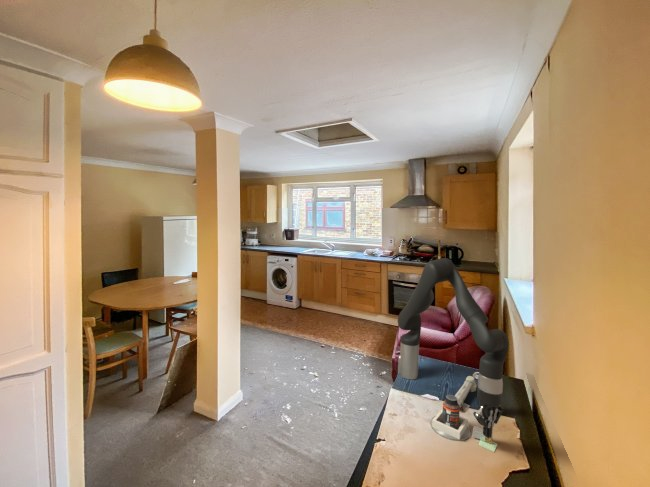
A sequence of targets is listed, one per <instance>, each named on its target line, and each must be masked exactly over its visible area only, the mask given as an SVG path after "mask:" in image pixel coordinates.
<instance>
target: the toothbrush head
mask: <svg viewBox="0 0 650 487" xmlns="http://www.w3.org/2000/svg"><path fill="white" fill-rule="evenodd" d="M477 388H478V383H477V382H476V380H475V378H474V377H473V376H471V375H468V376H467V377H466V378H465V380H464V381H463V384H462V385H461V387H460V388H459V389H458V391H457V392H456V393H455V395H454V396H455V397H456V398H457V403H458V404H459V406H460V408H462V407H463V406H464V405H463V403H464V402H465V400H466V398H467V396H468V394H469V393H473V392H477Z"/></svg>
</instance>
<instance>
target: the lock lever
mask: <svg viewBox="0 0 650 487" xmlns="http://www.w3.org/2000/svg"><path fill="white" fill-rule="evenodd" d="M493 428H494V426H493V427H492V434H493V431H494V429H493ZM472 437H473V438H476V439H478V440H479V441H480V440H483V441H485V442H488V443H491V444H492V442H493V436H492V437H490V438H487V437H486V436H484V435H483V427H482V428H481V427H479V426H476V425H473V428H472Z"/></svg>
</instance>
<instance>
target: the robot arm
mask: <svg viewBox="0 0 650 487" xmlns="http://www.w3.org/2000/svg"><path fill="white" fill-rule="evenodd" d="M446 281H447V282H448V283H450V284H451V287H452V288H453V289H454V294H455V303H456V304H455V305H456V308H457V311H458V312H459V314H460V315H461V317H462V318H463V319H464V320H465V322H466V324H467V325H468V327H469V330H470V332H471V335H472V337H473V340H474V342H475V344H476V345H477V347H478V348H479V349H480V350H482V351H483V352H485V354H483V355H482V356H481V357H480V359H479V369H478V377H477V388H476V393H477V395H476V397H477V400H478V402H479V404H478V410H477V411H473V413H472V415H473V417H474V418H475V419H476V421H477V423H478V424H480V425H481V427H482V429H483V435H484V436H486V437H487V438H490V437H492V438H493V433H492V427H493V428H494V427H495V425H497V424H498V422H499V420H500V418H501V416H502V415H503V412H504V408H503V407H502V406H501V405H502V404H503V394H504V393H503V390H504V389H503V388H504V381H503V376H504V375H503V372H504V364H505V361H506V358H507V355H508V351H509V347H510V344H509V342H510V341H509V338H508V335H507V334H506V333H505V332H504V331H503V330H501V329H499V328H493V329H489V328H488V327H487V323H488V321H489V318H488V316H487V314H486V313H485V312H484V311H483V309H482V307H480V304H478V303H477V302H476V300H475V298H474V296H472V293H471V292H470V290H469V288H468V286H467V285H466V283H465V281H464V278H463V277H462V276H461V274H460V272H459V270H458V269H457V267H456V265H455V264H454V262H453V261H452V260H451V259H449V258H448V257H447V258H446V257H444V258H438V259H434V260H430V261H428V262H426V264H425V265H424V267H423V269H422V273H421V275H420V278H419V281H418V283H417V285H416V287H415V288H414V290H413V292H412V294H411V295H410V298H409V300H408V301H407V303H406V305H405V306H404V307H403V308H402V310H400V312H399V314H398V316H397V325H398V327H399V329H401V330H402V331H408V332H406V333H404V334H402V335H401V336H400V348H399V349H400V350H399V355H398V358H397V359H398V361H397V364H398V365H397V375H398V376H400V377H401V378H403V379H406V380H417V379H418V378H419V355H420V340H421V331H422V330H421V329H422V317H421V314H423V313H424V312H425V311H427V310H428V309H429V308H430V307H431V305H432V303H433V301H434V300H435V295H434V292H433V288H434V287H435V286H436V285H438V284H439V283H442V282H443V283H444V282H446ZM399 372H400V373H399Z"/></svg>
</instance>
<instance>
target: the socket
mask: <svg viewBox="0 0 650 487" xmlns="http://www.w3.org/2000/svg"><path fill="white" fill-rule="evenodd" d="M442 412H443V408H441V409H440V410H439V411H438V413H437V414H436V415H434V416H432V417H431V419H430V427H431V429H433V431H434V432H435V433H436V434H437V435H439V436H440V437H442V438H445V439H447V440H451V441H455V442H456V441H458V442H460V441H461V442H462V441H466V440H467V439H469V438H470V436H471V429H470V427H469V419H467V418H465V417H463V416H460V415H459V428H458V429H457V430H456V429H454V428H452V427H450V426H448V425H445V424H443V423H442Z"/></svg>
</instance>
